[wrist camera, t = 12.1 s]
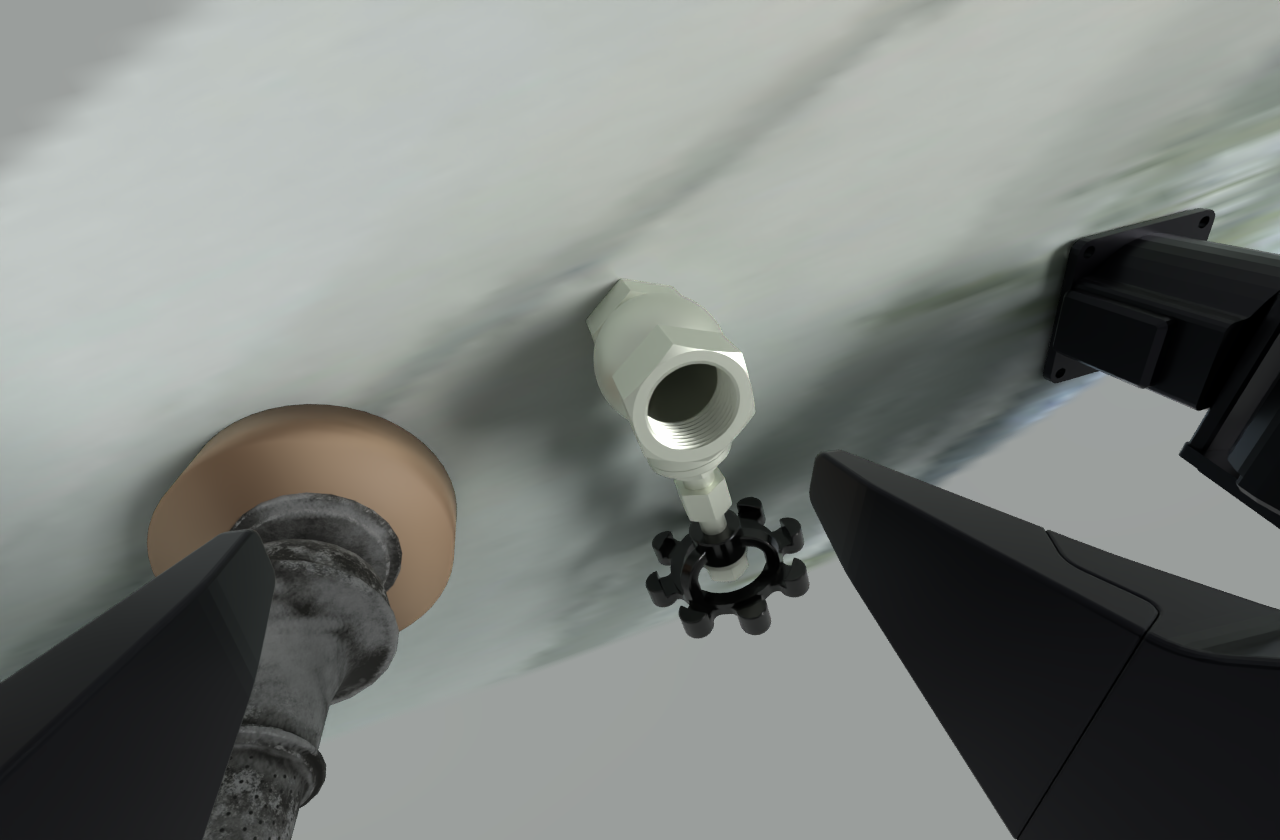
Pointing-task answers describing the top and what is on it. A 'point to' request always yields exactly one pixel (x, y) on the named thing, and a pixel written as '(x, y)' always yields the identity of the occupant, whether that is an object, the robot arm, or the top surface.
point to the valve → (692, 449)
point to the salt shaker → (307, 653)
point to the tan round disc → (318, 489)
